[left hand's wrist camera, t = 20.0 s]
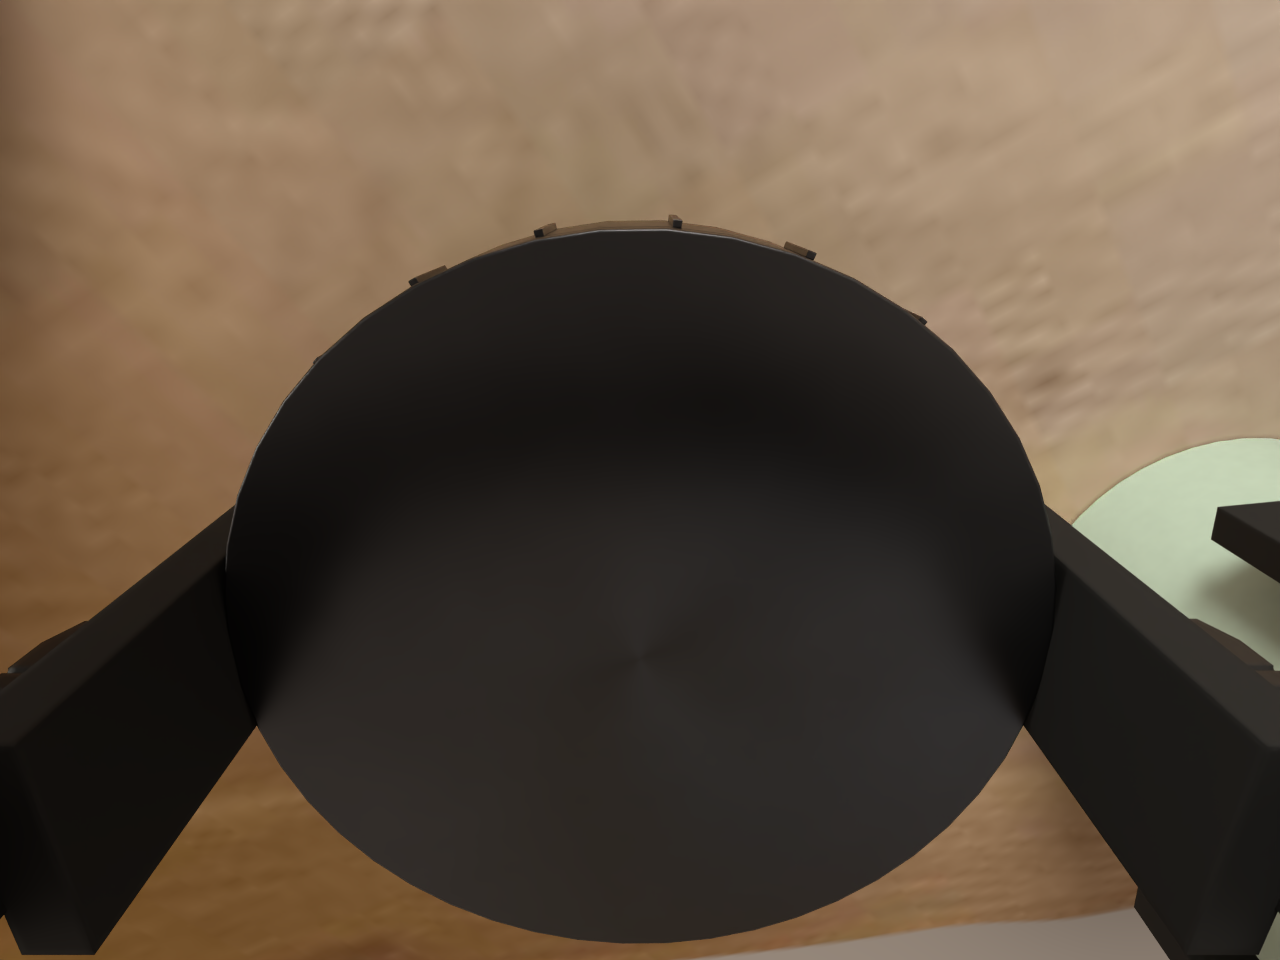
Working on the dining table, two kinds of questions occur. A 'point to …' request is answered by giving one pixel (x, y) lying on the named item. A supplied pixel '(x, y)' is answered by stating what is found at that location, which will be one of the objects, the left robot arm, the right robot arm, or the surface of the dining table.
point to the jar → (1198, 545)
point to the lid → (640, 583)
